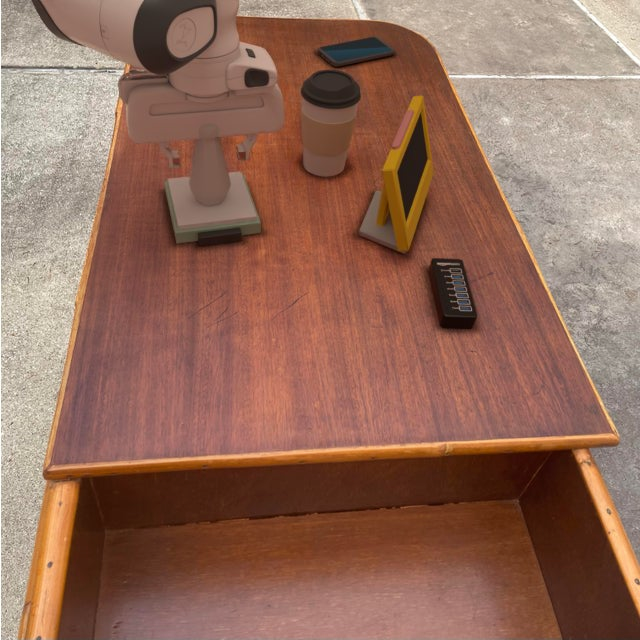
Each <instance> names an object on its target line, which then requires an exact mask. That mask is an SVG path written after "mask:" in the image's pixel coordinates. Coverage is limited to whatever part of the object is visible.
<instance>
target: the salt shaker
mask: <svg viewBox="0 0 640 640" xmlns="http://www.w3.org/2000/svg"><path fill="white" fill-rule="evenodd" d="M218 132H219V130H218V127H217V125H215V124H205V125H202V126H201V127H199V138H200V139H194V145H193V151H192V159H191V165H190V173H189V177H190V179H189V185H190V189H191V192H192V194H193V195H194V197H195V199H196V200H197V201H198V202H200V203H202V204H204V205H206V206H213V205H220V203H221V202H222V201H223V200H224V199H225V197H226V195H227V193H228V191H229V189H230V186H231V182H230V178H229V174H228V173H229V170H228V166H227V161H226V157H225V154H224V150H223V146H222V141H221V137H218V135H219V134H218Z"/></svg>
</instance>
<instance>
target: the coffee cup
mask: <svg viewBox="0 0 640 640" xmlns="http://www.w3.org/2000/svg"><path fill="white" fill-rule="evenodd" d="M300 95H301V105H300V115H301V117H300V119H301V143H302V163H303V167H304V169H305V171H307V172H308V173H310V174H312V175H314V176H317V177H325V178H327V177H334V176H338V175H339V174H340V173H342V172H343V171H344V170H345V166H346V161H347V158H348V152H349V148H350V145H351V141H352V137H353V133H354V128H355V123H356V119H357V115H358V107H359V102H360V101H361V98H362V94H361V86H360V85H359V83H358V82H357V81H356V80H355V79H354V77H353V76H352V75H351V74H349V73H347V72H345V71H343V70H339V69H331V68H330V69H328V68H327V69H321V70H317V71H315V72H313V73H312V74H311V75H310V76H309V77H308V78H306V79H305V80H304V81H303V83H302V87H301V88H300Z"/></svg>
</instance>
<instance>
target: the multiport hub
mask: <svg viewBox="0 0 640 640" xmlns="http://www.w3.org/2000/svg"><path fill="white" fill-rule="evenodd" d="M464 263H465V262H464V261H463V260H462V259H461V258H445V257H444V258H443V257H442V258H441V257H433V258H431V259H430V263H429V267H428V269H427V272H428V273H427V274H428V278H429V282H430V286H431V287H430V288H431V292H432V296H433V300H434V305H435V310H436V316H437V320H438V325H439V327H440V328H442V329H455V330H456V329H458V330H459V329H461V330H472V329H474V326H475V323H476V321H477V318H478V312H477V308H476V304H475V301H474V297H473V293H472V289H471V285H470V282H469V279H468V275H467V272H466V268H465V264H464Z"/></svg>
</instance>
